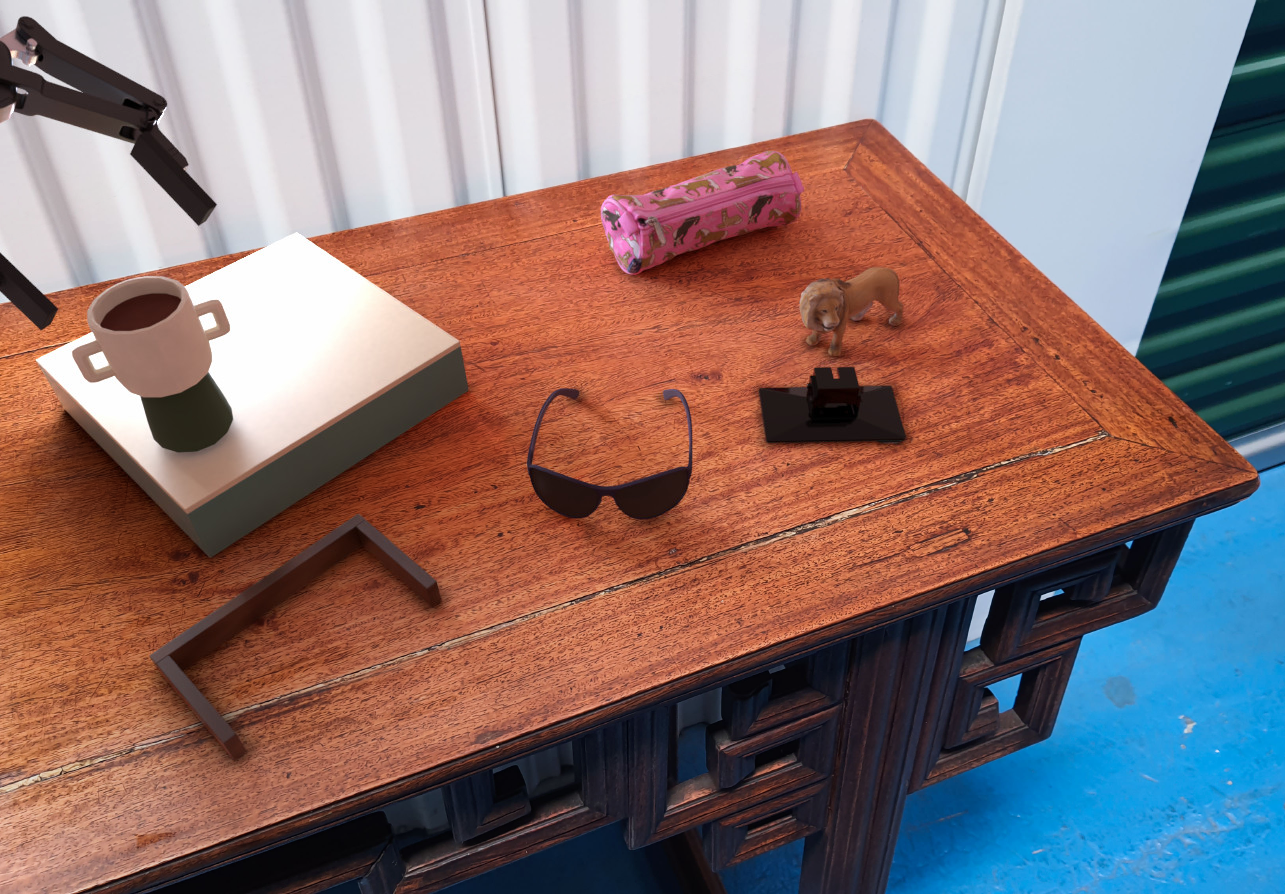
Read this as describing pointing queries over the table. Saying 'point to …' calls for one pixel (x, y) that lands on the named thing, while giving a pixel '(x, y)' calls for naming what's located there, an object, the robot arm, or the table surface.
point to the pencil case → (701, 211)
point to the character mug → (161, 358)
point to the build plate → (831, 411)
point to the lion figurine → (847, 303)
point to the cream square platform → (276, 390)
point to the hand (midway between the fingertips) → (134, 264)
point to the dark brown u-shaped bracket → (267, 597)
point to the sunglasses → (631, 498)
